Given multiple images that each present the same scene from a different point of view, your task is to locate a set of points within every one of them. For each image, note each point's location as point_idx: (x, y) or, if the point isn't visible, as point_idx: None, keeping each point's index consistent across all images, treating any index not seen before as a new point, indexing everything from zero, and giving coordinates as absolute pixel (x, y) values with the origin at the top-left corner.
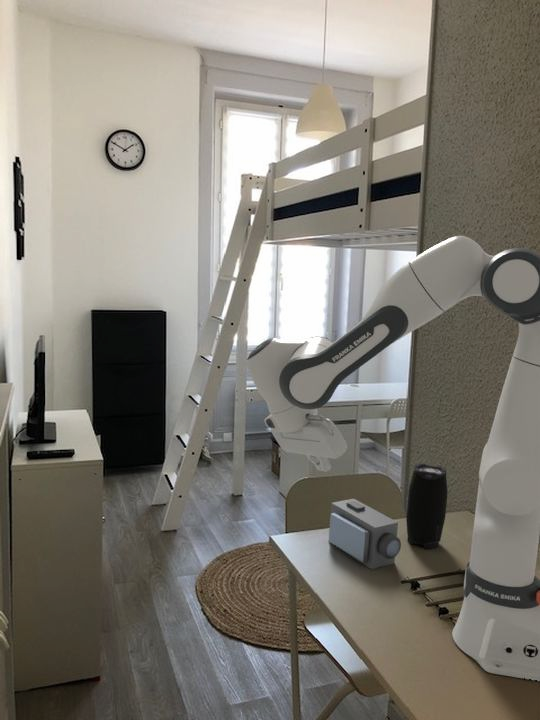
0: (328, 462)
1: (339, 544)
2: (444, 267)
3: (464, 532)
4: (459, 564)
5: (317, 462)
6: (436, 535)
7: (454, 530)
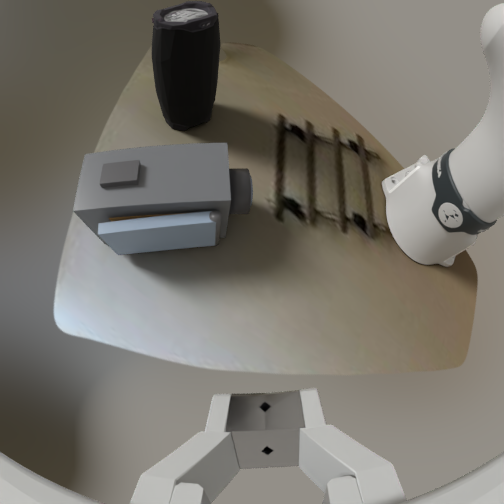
0: (323, 418)
1: (146, 249)
2: None
3: None
4: (263, 117)
5: (233, 462)
6: (214, 98)
7: None
